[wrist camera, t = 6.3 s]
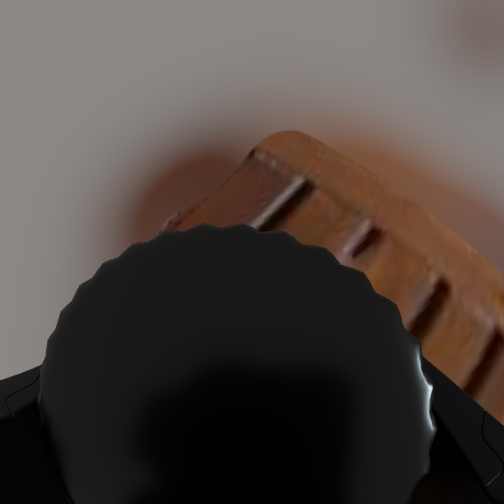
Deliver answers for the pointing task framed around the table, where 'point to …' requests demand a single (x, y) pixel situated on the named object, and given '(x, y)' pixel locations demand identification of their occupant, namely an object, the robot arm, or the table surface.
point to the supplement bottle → (234, 379)
